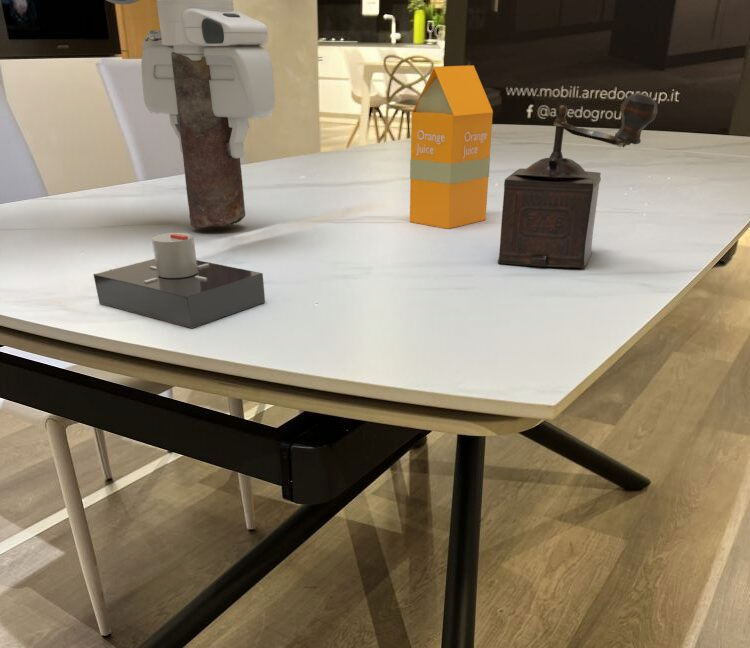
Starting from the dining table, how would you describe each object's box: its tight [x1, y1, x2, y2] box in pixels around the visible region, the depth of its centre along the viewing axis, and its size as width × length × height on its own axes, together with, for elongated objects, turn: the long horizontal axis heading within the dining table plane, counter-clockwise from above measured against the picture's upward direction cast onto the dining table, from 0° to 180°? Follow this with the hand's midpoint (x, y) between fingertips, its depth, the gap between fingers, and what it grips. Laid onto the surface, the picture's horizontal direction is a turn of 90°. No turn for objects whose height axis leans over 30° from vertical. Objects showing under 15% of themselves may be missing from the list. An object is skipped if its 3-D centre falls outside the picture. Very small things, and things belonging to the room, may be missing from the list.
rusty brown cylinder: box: [171, 52, 246, 229], centre depth 95 cm, size 8×7×20 cm
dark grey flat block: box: [93, 258, 266, 329], centre depth 75 cm, size 14×10×3 cm
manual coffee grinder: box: [497, 92, 659, 269], centre depth 86 cm, size 16×11×18 cm
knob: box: [151, 232, 198, 278], centre depth 74 cm, size 4×4×4 cm
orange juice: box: [409, 64, 494, 230], centre depth 106 cm, size 8×9×20 cm
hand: (212, 155), depth 96 cm, fingers closed on rusty brown cylinder, 7 cm apart
